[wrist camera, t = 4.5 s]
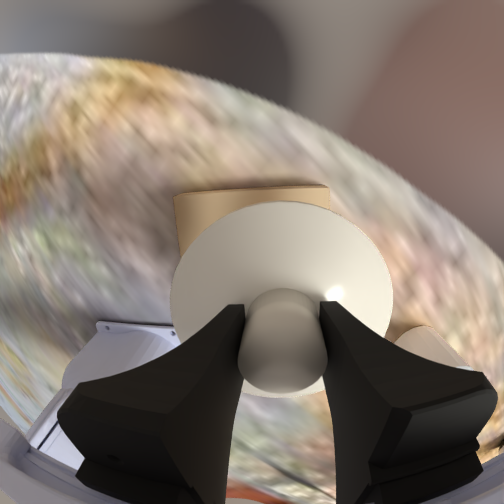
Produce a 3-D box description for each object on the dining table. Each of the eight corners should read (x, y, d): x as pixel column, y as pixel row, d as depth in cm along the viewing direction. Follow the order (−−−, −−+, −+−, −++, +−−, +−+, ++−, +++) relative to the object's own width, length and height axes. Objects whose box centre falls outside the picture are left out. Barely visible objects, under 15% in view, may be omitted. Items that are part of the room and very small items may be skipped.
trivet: (195, 294, 22) (188, 306, 20) (182, 193, 20) (172, 196, 18) (323, 291, 21) (327, 303, 19) (324, 185, 19) (329, 187, 17)
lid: (194, 386, 13) (177, 433, 10) (158, 208, 10) (116, 228, 7) (370, 382, 12) (386, 429, 9) (396, 198, 9) (439, 215, 6)
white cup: (369, 351, 23) (391, 407, 16) (430, 305, 21) (469, 351, 14) (397, 386, 24) (417, 435, 17) (450, 347, 22) (481, 391, 15)
